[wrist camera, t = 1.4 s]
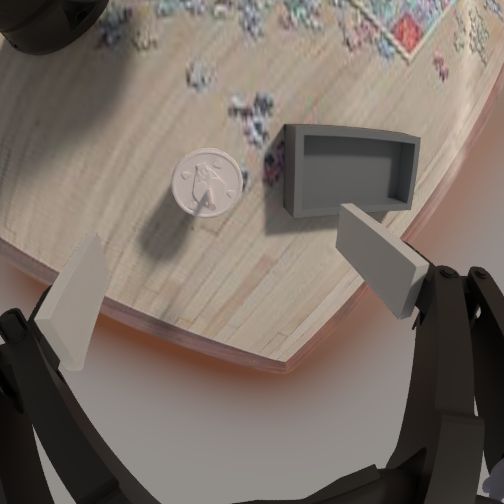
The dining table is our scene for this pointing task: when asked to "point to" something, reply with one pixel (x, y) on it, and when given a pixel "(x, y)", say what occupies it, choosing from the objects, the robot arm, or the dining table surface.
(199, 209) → the smoothie
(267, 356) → the dining table surface
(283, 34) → the dining table surface
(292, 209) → the tray
